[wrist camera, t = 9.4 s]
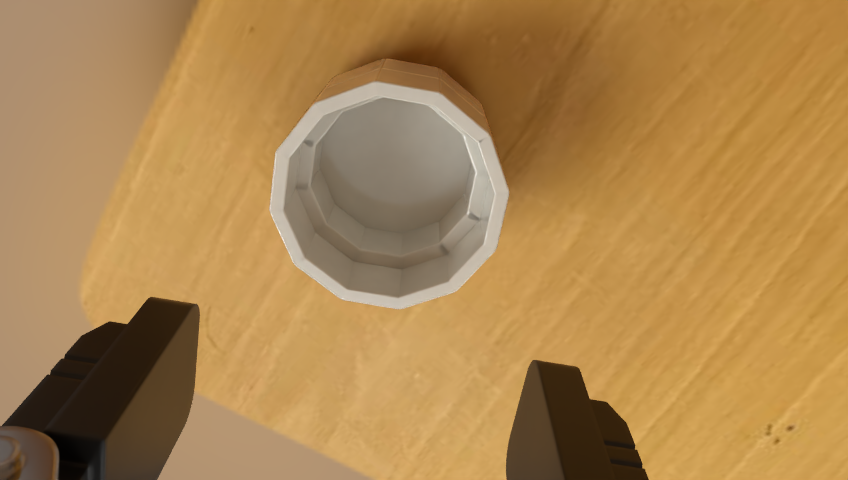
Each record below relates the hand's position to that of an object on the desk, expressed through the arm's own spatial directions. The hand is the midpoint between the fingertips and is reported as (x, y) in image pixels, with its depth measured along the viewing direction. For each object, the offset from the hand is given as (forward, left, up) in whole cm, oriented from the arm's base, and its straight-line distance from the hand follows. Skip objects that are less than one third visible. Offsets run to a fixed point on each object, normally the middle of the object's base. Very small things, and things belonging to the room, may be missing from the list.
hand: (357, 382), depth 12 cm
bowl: (0, 0, -13) cm, 13 cm away
